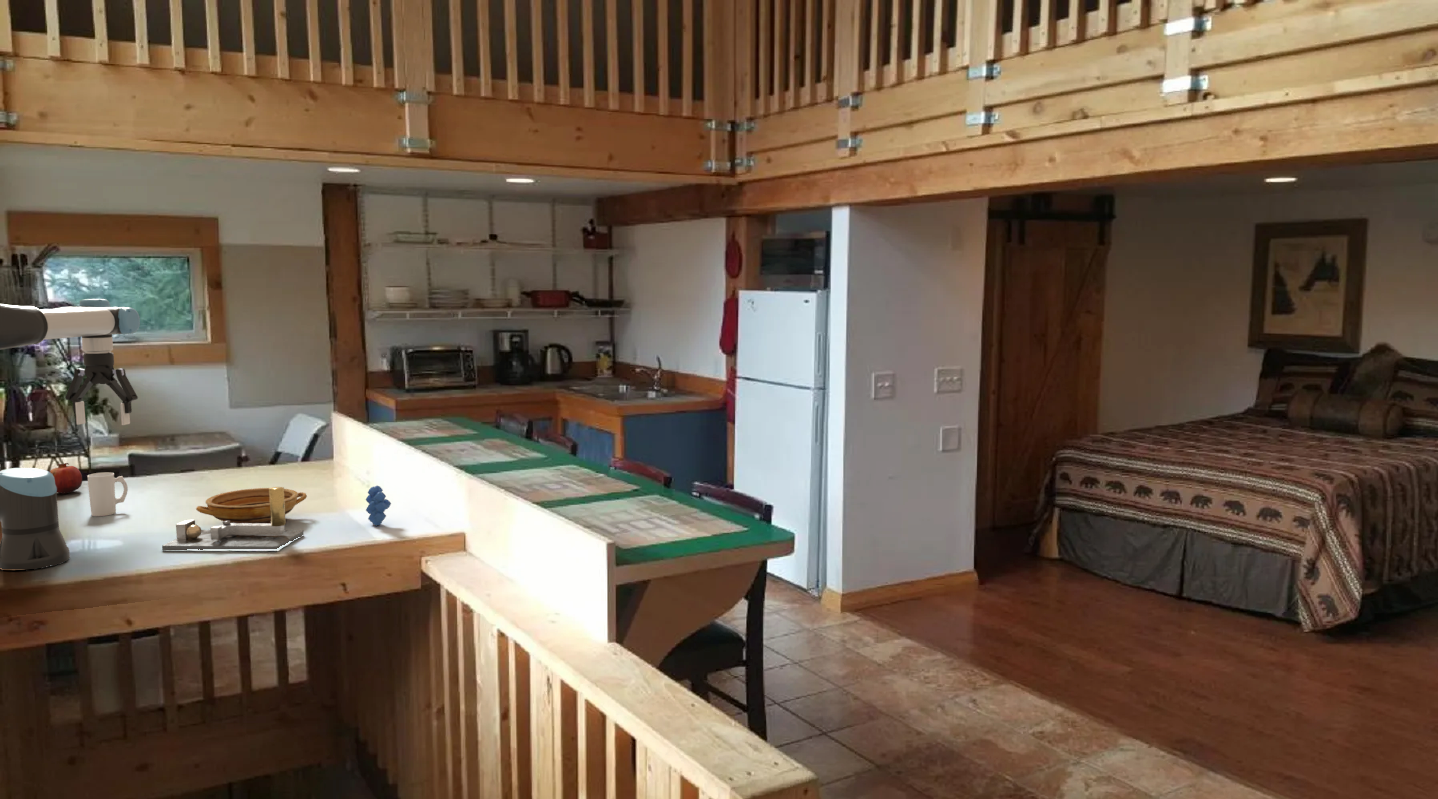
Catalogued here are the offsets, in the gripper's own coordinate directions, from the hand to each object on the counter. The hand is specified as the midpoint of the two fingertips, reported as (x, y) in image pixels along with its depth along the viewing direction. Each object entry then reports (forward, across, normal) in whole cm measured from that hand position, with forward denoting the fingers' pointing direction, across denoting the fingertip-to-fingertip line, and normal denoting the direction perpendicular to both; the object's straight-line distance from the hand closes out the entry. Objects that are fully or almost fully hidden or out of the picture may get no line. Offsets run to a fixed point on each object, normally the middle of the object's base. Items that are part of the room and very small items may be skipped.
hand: (103, 424), depth 291 cm
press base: (+28, -53, +27) cm, 66 cm away
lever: (+25, -57, +27) cm, 68 cm away
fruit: (+28, +34, -28) cm, 52 cm away
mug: (+28, +2, -3) cm, 28 cm away
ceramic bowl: (+28, -47, +6) cm, 55 cm away
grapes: (+28, -84, +6) cm, 89 cm away
